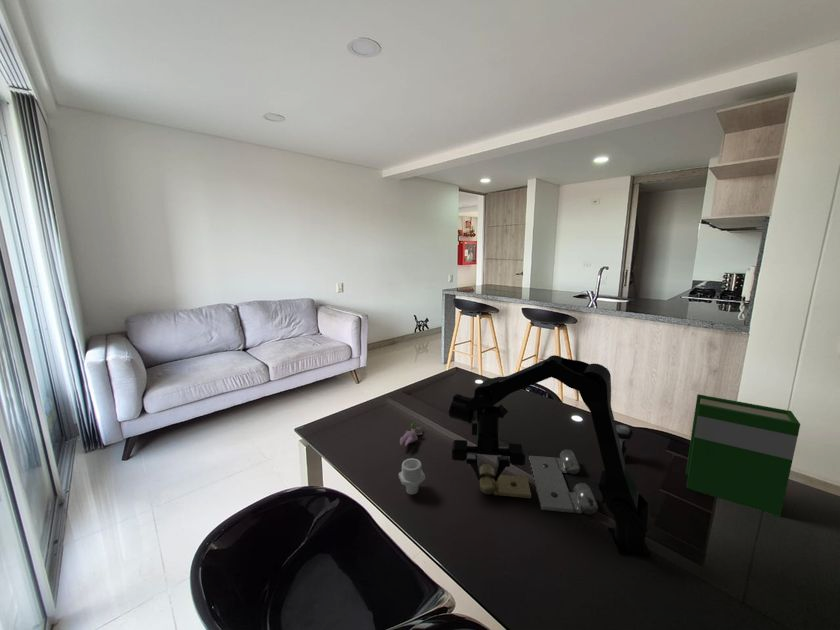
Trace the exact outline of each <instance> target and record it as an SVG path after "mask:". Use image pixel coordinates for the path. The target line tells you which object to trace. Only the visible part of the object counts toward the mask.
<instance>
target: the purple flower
mask: <svg viewBox="0 0 840 630" xmlns="http://www.w3.org/2000/svg"><path fill="white" fill-rule="evenodd" d="M421 430H422V431H423V426H422V425H421V426H420V427H418V426H416V425H415V423H414V422H412V423H411V424H410V430H407V429H406V430H405V433H404V435H402V436H401V437H400V439H399V444H400V446H403V444H404V446H405V447H406V446H408V445H409V444H412V443H414V442H416V441H418V439H419V437H418V436H419V435H420V436H421V435H423V432H422V431H421Z"/></svg>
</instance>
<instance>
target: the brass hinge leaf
mask: <svg viewBox="0 0 840 630" xmlns="http://www.w3.org/2000/svg"><path fill="white" fill-rule="evenodd" d="M479 470H480V480H479V489H480V491H481V492H482V493H483V494H485V495H492V494H493V496H503V497H511V498H512V497H514V498H525V499H532V492H531V489H530V484H529V478H528V476H518V475H510V474H508V475H507V474H500V476H499V478H498V480H497V481H496V482H495V469H494V467H493V466H492V464H491V465H490V464H489V463H484V464H482V465H481V466H479Z"/></svg>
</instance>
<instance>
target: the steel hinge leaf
mask: <svg viewBox="0 0 840 630" xmlns="http://www.w3.org/2000/svg"><path fill="white" fill-rule="evenodd" d="M529 460H530V462H529V464H530V463H531V466H530V468H531V467H532V470H531V472H532V471H533V474H532V476H533V475H534V478H533V481H534V480H535V482H534V486H535V491H536V494H537V497H538V502H539V506H540V510H541V511H552V512H561V513H562V512H563V513H573V514H583V513H584V514H586V515H592V514H595V513H596V512H597V511H598V509H599V506H598V503H597V501H596V499H595V497H594V494H593V492H592V490H591V488H590V486H589V485H587V483H584V482H579V483H576V484H575V485H574V487H573V491H572V492H570V490H569V488H568V486H567V485H568V484H567V482H566V479H565V478H564V474H562V472H563V473H566V474H567V473H568V474H569V473H571V474H570V475H577V474H578V473H579V472H580V469H581V468H580V466H581V465H580V464H579V462H578V460H577V458H576V455H575V453H574V452H573V451H572V450H571V449H567V448H566V449H563V450H561V452H560V454H559V457H554V456H553V457H552V456H551V457H550V456H541V455H540V456H539V455H528V461H529Z"/></svg>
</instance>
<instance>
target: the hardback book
mask: <svg viewBox="0 0 840 630" xmlns="http://www.w3.org/2000/svg"><path fill="white" fill-rule="evenodd" d="M693 414H694V415H693V421H692V428H691V434H690V442H689V448H688V455H687V456H688V457H687V462H686V468H685V476H687V481H686V489H688V488H689V489H688V490H692V491H695V492H698V493H701V494H704V495H707V494H708V495H707V496H711V497H714V498H718V499H720V498H721V500H724V499H725V500H724V501H727V500H728V501H727V502H730V501H731V503H733V502H734V503H733V504H737V505H740V504H741V506H743V505H744V507H746V506H749V507H748V508H750V507H752V508H751V509H753V508H755V509H754V510H756V509H759V510H758V511H760V510H761V511H760V512H763V511H765V512H764V513H766V512H768V513H767V514H769V513H771V514H770V515H773V514H774V515H773V516H776V515H778V516H777V517H779V516H780V517H781V515H782V510H783V506H784V501H785V496H786V493H787V492H786V491H787V489H788V483H789V478H790V474H791V470H792V464H793V460H794V456H795V455H794V454H795V451H796V446H797V441H798V437H799V434H800V433H799V432H800V429H801V422H799V420H798V419H797V417H796V416H795V414H794V413H793V411H792V410H788V409H781V408H776V407H771V406H767V405H766V406H764V405H761V404H753V403H748V402H743V401H738V400H733V399H728V398H727V399H726V398H721V397H717V396H716V397H715V396H709V395H704V394H698V393H697V395H696V402H695V409H694V413H693Z"/></svg>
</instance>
